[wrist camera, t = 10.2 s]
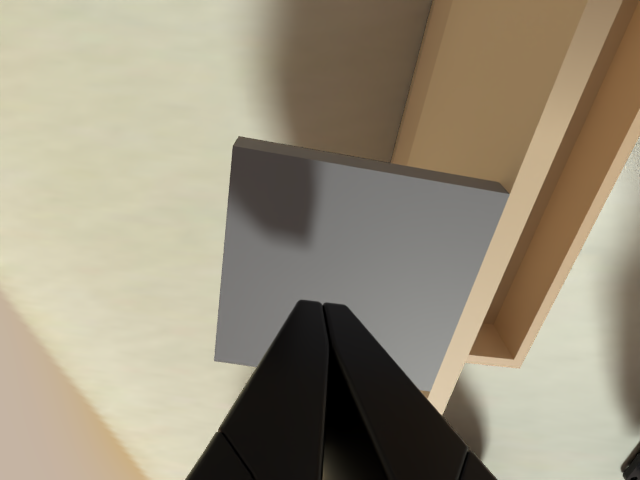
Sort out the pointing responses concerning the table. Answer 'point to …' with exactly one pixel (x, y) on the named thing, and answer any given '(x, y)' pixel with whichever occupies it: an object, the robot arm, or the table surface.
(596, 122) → the cardboard box
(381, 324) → the lid
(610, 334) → the table surface
